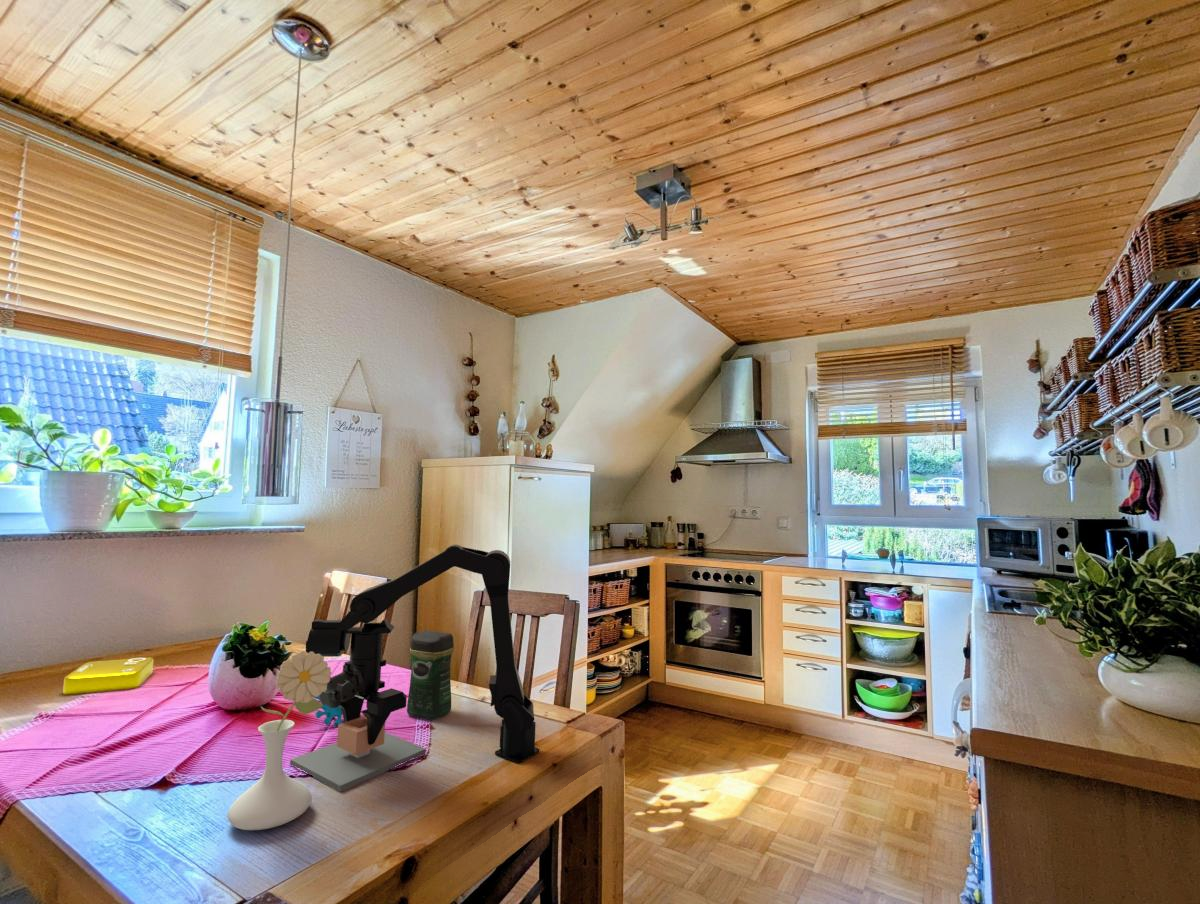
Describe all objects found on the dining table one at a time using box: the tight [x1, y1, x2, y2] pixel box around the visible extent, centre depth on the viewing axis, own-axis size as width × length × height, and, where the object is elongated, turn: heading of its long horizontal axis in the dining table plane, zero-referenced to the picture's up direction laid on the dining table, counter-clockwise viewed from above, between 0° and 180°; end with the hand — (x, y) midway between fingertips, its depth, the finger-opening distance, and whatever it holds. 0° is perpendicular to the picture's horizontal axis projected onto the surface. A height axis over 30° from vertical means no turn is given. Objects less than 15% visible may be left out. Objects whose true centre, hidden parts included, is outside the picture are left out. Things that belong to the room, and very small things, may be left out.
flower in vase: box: [226, 650, 332, 831], centre depth 90 cm, size 13×11×25 cm
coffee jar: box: [406, 630, 455, 720], centre depth 133 cm, size 10×8×19 cm
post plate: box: [289, 731, 427, 793], centre depth 109 cm, size 16×18×5 cm
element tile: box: [62, 657, 155, 695], centre depth 147 cm, size 15×15×5 cm
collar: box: [336, 715, 386, 755], centre depth 109 cm, size 6×6×4 cm
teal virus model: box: [314, 696, 343, 727], centre depth 128 cm, size 11×6×10 cm
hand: (361, 739), depth 109 cm, fingers closed on collar, 6 cm apart
